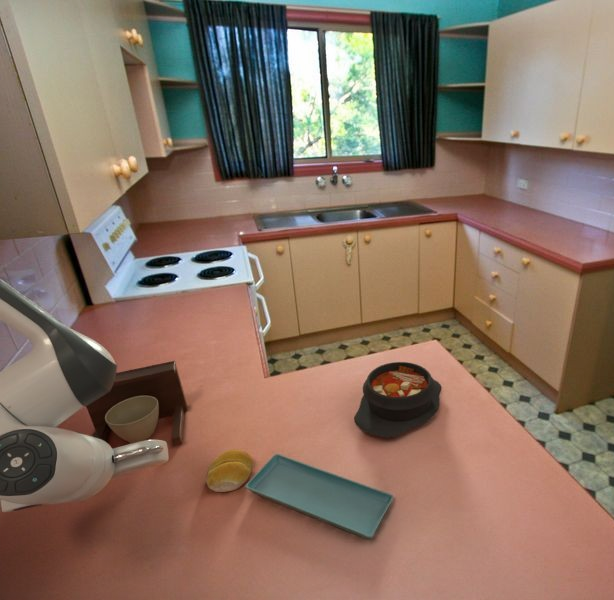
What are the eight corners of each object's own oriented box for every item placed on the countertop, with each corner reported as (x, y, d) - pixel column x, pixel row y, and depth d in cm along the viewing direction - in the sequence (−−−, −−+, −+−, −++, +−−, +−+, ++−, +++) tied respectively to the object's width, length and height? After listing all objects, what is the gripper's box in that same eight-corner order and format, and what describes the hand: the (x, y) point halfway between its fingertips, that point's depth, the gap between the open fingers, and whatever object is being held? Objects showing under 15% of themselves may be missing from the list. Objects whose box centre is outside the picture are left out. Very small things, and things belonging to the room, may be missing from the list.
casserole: (396, 372, 115) (395, 345, 111) (458, 393, 105) (459, 364, 102) (335, 425, 96) (332, 394, 92) (405, 457, 86) (404, 424, 83)
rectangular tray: (395, 503, 76) (394, 492, 75) (372, 547, 69) (371, 536, 68) (277, 461, 86) (275, 452, 85) (245, 496, 78) (243, 486, 77)
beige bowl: (112, 458, 88) (102, 430, 85) (116, 429, 97) (107, 403, 94) (166, 441, 92) (157, 414, 90) (165, 415, 101) (158, 390, 98)
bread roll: (256, 455, 88) (253, 440, 86) (247, 490, 80) (243, 474, 78) (215, 460, 87) (211, 445, 85) (201, 495, 79) (197, 479, 77)
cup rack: (186, 442, 92) (171, 392, 87) (83, 470, 85) (60, 417, 80) (188, 407, 103) (174, 360, 98) (97, 429, 97) (78, 380, 92)
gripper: (155, 425, 65) (174, 435, 77) (-13, 467, 58) (37, 471, 70) (160, 467, 63) (179, 471, 75) (-14, 517, 56) (38, 512, 68)
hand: (109, 471), depth 72 cm, fingers closed
